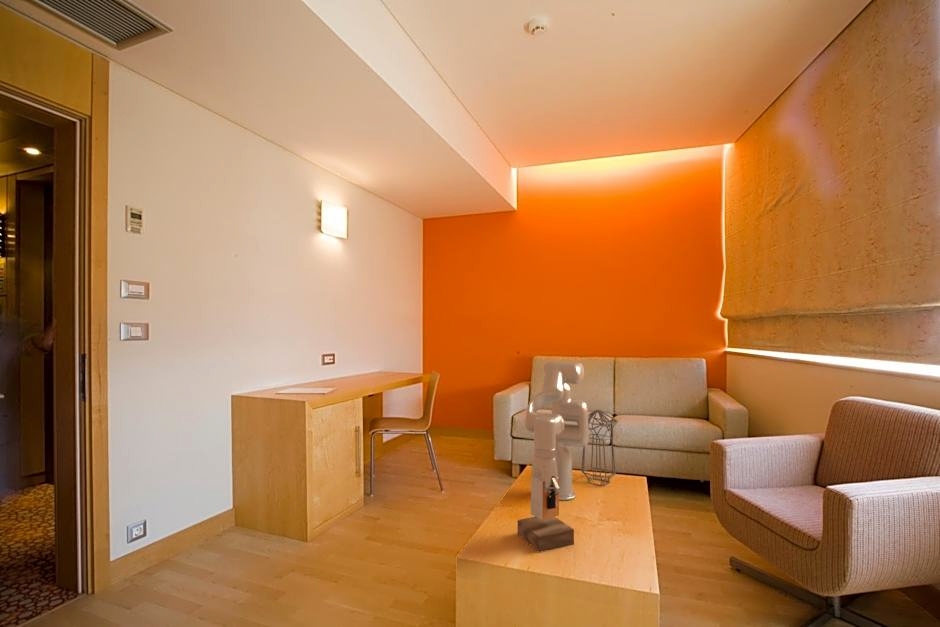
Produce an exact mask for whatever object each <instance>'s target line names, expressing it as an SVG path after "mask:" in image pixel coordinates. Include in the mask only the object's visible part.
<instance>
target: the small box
mask: <svg viewBox="0 0 940 627" xmlns="http://www.w3.org/2000/svg"><path fill="white" fill-rule="evenodd" d="M557 484H558V486H559V478H558V477H557ZM550 487H552V485H550ZM551 492H552V489H550V493H551ZM547 497H548V494H547V489H544V481H542V480H540V479H539V478H537V477H535V476H534V477H532V476H530V514H531V515H532V517H537V518H539V519H541V520H544V519H548V518H551V517H558V516H560V500H559V492H558V494H557V496H556V507H555V508H553V509H547Z"/></svg>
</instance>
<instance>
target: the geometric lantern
mask: <svg viewBox="0 0 940 627" xmlns="http://www.w3.org/2000/svg"><path fill="white" fill-rule="evenodd" d="M597 414H598V416H599V418H598V417H596V416H597ZM609 418H610V419H609ZM592 419H593V420H592ZM591 420H592V422H591ZM595 421H596V422H597V423H594V422H595ZM619 422H620V421H619V420H618V419H616V418H614V417H613V416H612V415H609V414H608V413H606V412H604V411H603V410H601V409H595V410H594V411H592V412H590V413H588V430H590V431H591V434H589V436H592V437H590V439H591V440H592V442H591V460H590V461H591V463H590V468H586V469H585V462H586V461H585V460H586V458H585V456H586V455H585V454H586V446H585V447H582V458H581V469H580V470H581V471H580V472H581V473H582V474H583V475H584V476H585V477H586V478H587V482H588V481H589V484H592V483H593V482H591V481H599V482H600V483H601V484H598V483H593V484H592V485H596V486H600V487H605V486H606V485H608V484H610V483H611V482H610V481H611V480H610V479H612V478H613V477H614V476H616V474H617V472H616V461H615V453H614V452H615V451H614V449H615V448H614V440H613V439H614V427H615V426H616V425H617V424H618V423H619ZM590 424H591V427H592V428H591V427H590ZM595 425H596V426H595ZM594 426H595V427H594ZM611 426H612V427H611ZM599 427H600V428H599ZM603 427H605V428H606V429H607V430H606V431H605V433H604V434H600V432H601V430H602V428H603ZM598 428H599V430H598V432H597V431H596V429H598ZM592 430H593V431H592ZM610 431H611V432H610ZM607 432H608V434H609V435H606V434H607ZM600 436H602V438H600ZM594 437H596V438H594ZM605 437H608V438H605ZM604 438H605V439H604ZM594 440H595V442H596V443H595V444H596V446H595V447H596V448H595V449H596V451H595V452H596V454H595V456H596V457H595V467H593V461H594V459H593V456H594ZM608 440H611V442H610V443H611V466H612V467H611V468H612V470H608V469H607V466H606V464H607V462H606V450H605V449H606V448H605V441H608ZM601 441H602V447H603V448H602V449H603V450H602V451H603V461H604V463H603V464H604V468H601V467H602V465H601V462H602V461H601ZM598 451H599V452H598ZM598 454H599V457H598ZM598 460H599V461H598ZM598 466H599V467H598ZM593 469H594V470H595V473H594V470H593ZM589 470H591V471H592V474H591V473H588V472H586V471H589ZM597 471H599V474H597V473H598V472H597ZM602 471H604V475H602ZM608 472H609V473H610V474H608V475H607V473H608ZM592 479H593V480H592ZM590 480H591V481H590ZM604 482H606V483H604ZM603 483H604V484H603Z"/></svg>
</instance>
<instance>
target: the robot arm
mask: <svg viewBox="0 0 940 627" xmlns="http://www.w3.org/2000/svg"><path fill="white" fill-rule="evenodd" d="M543 374H544V377H543V384H542V389H541V390H540V392H538V393H537V394H535V396H534V397H533V398H531V400H530V401H529V403H528V404H527V409H526V412H525V420H524V426H525V429H526V430H527V432H529V433H533V446H534V447H533V457H532V463H531V476H530V477H534V476H535V477H537V478H539V479H540V480H542V481H544V489H547V494H548V497H547V509H553V508H555V507H556V496H557V494H558V492H559V501H571V500H574V499H575V498H576V497H577V493H576V492H575V491H574V490H573V456H572V453H571V451H570V449H569V448H568V447H572V448H573V447H575V448H583V447H585V448H586V447H587V446H588V444H589V439H590V434H589V429H588V428H589V427H588V419H589V418H588V417H589V416H588V414H589V409H588V405H587V403H586V402H585V401H584V400H581V399H572V398H571V397H572V396H571V392H572V389H571V387H570V385H571V384H572V385H579V384H580V383H582V381H583V380H584V377H585V368H584V365H583V364H582V363H581V362H577V361H576V362H573V361H572V362H571V361H549V362H546V363H545V364H543ZM550 405H551V412H537V411H539V410H540V409H542V408H543V407H547V406H550ZM565 422H573V423H565ZM575 423H576V424H575ZM557 477H558V478H559V486H558V484H557ZM550 485H552V487H550ZM550 489H552V492H551V493H550Z"/></svg>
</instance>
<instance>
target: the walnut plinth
mask: <svg viewBox="0 0 940 627" xmlns="http://www.w3.org/2000/svg"><path fill="white" fill-rule="evenodd" d="M517 535H518V536H519V537H520V536H521V537H522V538H521V537H520V538H521V539H523V540H524V541H525V540H526V541H527V542H528V543H527V542H526V541H525V542H526V543H527V544H528V545H530V544H531V545H532V546H533V547H534V548H533V547H532V546H531V545H530V546H531V547H532V548H533V549H534V550H536V551H537V552H538V551H539V552H538V553H541V551H543V552H547V551H552V550H555V548H556V549H559V548H565V547H569V546H572V545H575V529H574V528H572V527H571V526H570V525H568V523H565V522H563V521H562V520H561V519H559V518H557V516H555V517H551V518H548V519H544V520H541V519H539V518H537V517H535V516H532V517H526V518H521V519H517ZM546 550H547V551H546Z"/></svg>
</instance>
